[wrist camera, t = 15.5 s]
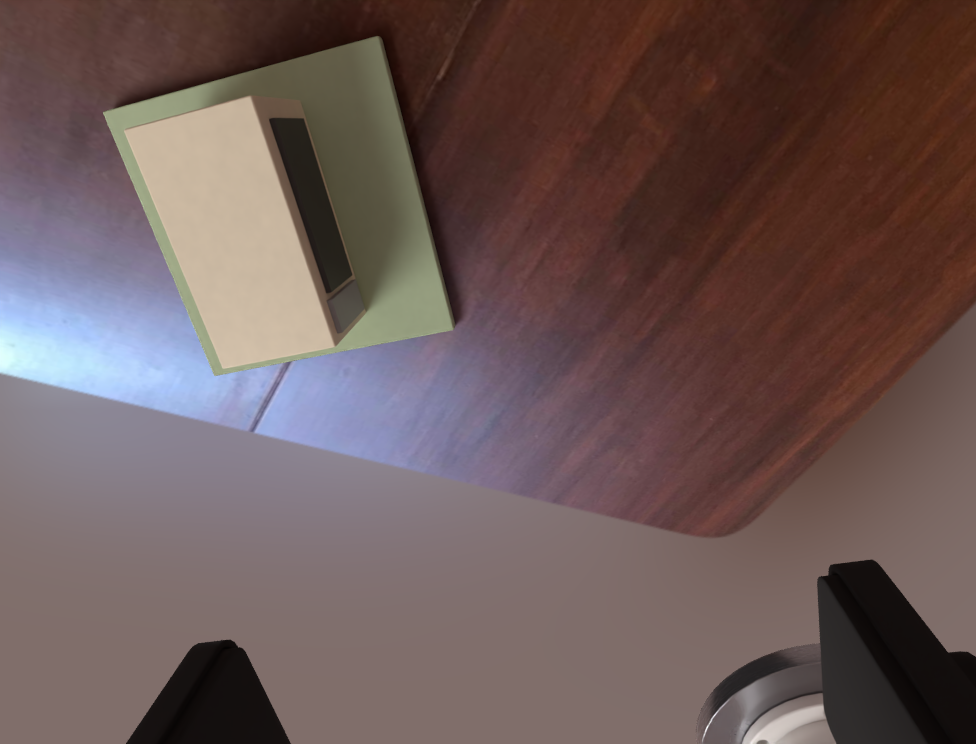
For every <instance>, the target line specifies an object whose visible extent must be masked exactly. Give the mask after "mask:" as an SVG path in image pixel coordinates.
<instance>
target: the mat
mask: <svg viewBox="0 0 976 744" xmlns="http://www.w3.org/2000/svg"><path fill="white" fill-rule="evenodd" d="M249 95H252V96H262V97H272V98H282V99H292V100H300V101H301V104H302V108H303V111H304V114H305V117H306V121H307V124H308V127H309V130H310V133H311V137H312V140H313V143H314V146H315V150H316V153H317V156H318V159H319V162H320V166H321V169H322V172H323V175H324V179H325V182H326V185H327V188H328V191H329V195H330V198H331V201H332V204H333V208H334V211H335V214H336V217H337V220H338V224H339V227H340V230H341V233H342V237H343V240H344V243H345V246H346V249H347V253H348V256H349V259H350V262H351V266H352V269H353V272H354V275H355V278H356V281H357V285H358V288H359V291H360V294H361V297H362V301H363V304H364V307H365V311H366V314H365V315H364V316H363V317H362V318H361V319H360V320H359V321H358V323H357V324H356V325H355V326H354V327H353V328H352V329H351V330H350V331H349V333H348V334H347V335H346V336H345V337H344V338H343V339H342V340H341V341H340V342H339V344H338V345H337V346H336V347H333V348H328V349H323V350H318V351H313V352H307V353H302V354H297V355H292V356H287V357H282V358H277V359H272V360H266V361H261V362H256V363H251V364H246V365H241V366H236V367H230V368H225V369H224V368H222V365H221V363H220V361H219V358H218V356H217V353H216V351H215V349H214V346H213V344H212V341H211V339H210V337H209V334H208V332H207V329H206V327H205V325H204V322H203V320H202V317H201V315H200V313H199V310H198V308H197V305H196V303H195V301H194V298H193V296H192V293H191V291H190V288H189V286H188V284H187V281H186V279H185V276H184V274H183V272H182V269H181V267H180V264H179V262H178V260H177V257H176V255H175V252H174V250H173V248H172V245H171V243H170V240H169V238H168V236H167V233H166V231H165V228H164V226H163V224H162V221H161V219H160V216H159V214H158V212H157V209H156V207H155V204H154V202H153V200H152V197H151V195H150V192H149V190H148V187H147V185H146V183H145V180H144V178H143V175H142V173H141V171H140V168H139V166H138V163H137V161H136V159H135V156H134V154H133V151H132V149H131V147H130V144H129V142H128V139H127V137H126V135H125V132H124V130H125V129H127V128H130V127H134V126H138V125H141V124H145V123H149V122H153V121H156V120H160V119H164V118H167V117H171V116H175V115H179V114H182V113H186V112H190V111H193V110H197V109H201V108H204V107H208V106H212V105H216V104H219V103H223V102H227V101H230V100H234V99H238V98H242V97H245V96H249ZM103 114H104V116H105V119H106V121H107V123H108V126H109V128H110V130H111V133H112V135H113V137H114V140H115V142H116V145H117V147H118V149H119V152H120V154H121V156H122V159H123V161H124V163H125V166H126V168H127V170H128V173H129V175H130V178H131V180H132V182H133V185H134V187H135V189H136V192H137V194H138V196H139V199H140V201H141V204H142V206H143V208H144V211H145V213H146V215H147V218H148V220H149V222H150V225H151V227H152V230H153V232H154V234H155V237H156V239H157V241H158V244H159V246H160V248H161V251H162V253H163V256H164V258H165V260H166V263H167V265H168V267H169V270H170V272H171V274H172V277H173V279H174V282H175V284H176V286H177V289H178V291H179V293H180V296H181V298H182V300H183V303H184V305H185V308H186V310H187V312H188V315H189V317H190V319H191V322H192V324H193V326H194V329H195V331H196V333H197V336H198V338H199V341H200V343H201V345H202V348H203V350H204V352H205V355H206V357H207V359H208V362H209V364H210V367H211V369H212V371H213V374H214V376H217V375H223V374H228V373H233V372H238V371H243V370H248V369H254V368H259V367H264V366H269V365H274V364H279V363H285V362H290V361H295V360H300V359H305V358H311V357H316V356H321V355H326V354H331V353H336V352H342V351H347V350H352V349H357V348H362V347H367V346H373V345H378V344H383V343H388V342H393V341H398V340H404V339H409V338H414V337H419V336H424V335H430V334H435V333H440V332H445V331H450V330H454V328H455V322H454V318H453V314H452V310H451V306H450V302H449V298H448V294H447V290H446V287H445V283H444V279H443V275H442V271H441V267H440V263H439V259H438V255H437V251H436V247H435V244H434V240H433V236H432V232H431V228H430V224H429V220H428V216H427V212H426V208H425V204H424V201H423V197H422V193H421V189H420V185H419V181H418V177H417V173H416V169H415V165H414V161H413V158H412V154H411V150H410V146H409V142H408V138H407V134H406V130H405V126H404V122H403V118H402V115H401V111H400V107H399V103H398V99H397V95H396V91H395V87H394V83H393V79H392V75H391V72H390V68H389V64H388V60H387V56H386V52H385V48H384V44H383V40H382V38H381V37H379V36H375V37H371V38H368V39H364V40H361V41H357V42H353V43H350V44H346V45H342V46H339V47H335V48H332V49H328V50H324V51H321V52H317V53H314V54H310V55H306V56H303V57H299V58H295V59H292V60H288V61H285V62H281V63H277V64H274V65H270V66H267V67H263V68H259V69H256V70H252V71H248V72H245V73H241V74H238V75H234V76H230V77H227V78H223V79H219V80H216V81H212V82H209V83H205V84H201V85H198V86H194V87H191V88H187V89H183V90H180V91H176V92H172V93H169V94H165V95H162V96H158V97H154V98H151V99H147V100H144V101H140V102H136V103H133V104H129V105H125V106H122V107H118V108H115V109H111V110H107V111H104V112H103Z"/></svg>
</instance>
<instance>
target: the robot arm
mask: <svg viewBox="0 0 976 744" xmlns="http://www.w3.org/2000/svg"><path fill="white" fill-rule="evenodd" d="M817 583H818V584H817V587H818V606H819V625H820V626H819V627H820V647H821V668H822V688H823V693H817V694H812V695H807V696H802V697H799V698H796V699H793V700H790V701H787V702H785V703H783V704H781V705H778V706H776V707H774V708H772V709H771V710H770V711H768V712H767V713H765V714H764V715H762V716H761V717H760V718H759V719H758V720H757V721H756V722H755V723H754V724H753V725H752V726H751V727H750V729H749V730H748V732H747V734H746V735H745V737H744V739H743V742H742V744H976V657H975V656H973V655H972V654H970V653H969V652H950V653H948V652H947V651H946V649H945V648H944V647H943V646H942V644H941V643H940V642H939V641H938V639H937V638H936V637H935V635H934V634H933V633H932V631H931V630H930V629H929V628H928V626H927V625H926V624H925V622H924V621H923V620H922V619H921V617H920V616H919V615H918V614H917V612H916V611H915V610H914V608H913V607H912V606H911V605H910V604H909V602H908V601H907V599H906V598H905V597H904V596H903V594H902V593H901V592H900V590H899V589H898V588H897V587H896V585H895V584H894V583H893V582H892V580H891V579H890V578H889V576H888V575H887V574H886V573H885V571H884V570H883V569H882V567H881V566H880V565H879V564H878V563H877V562H876V561H874V560H865V561H858V562H849V563H841V564H833V565H830V567H829V575H828V576H821V577H819V578H818V582H817ZM126 744H291V743H290V741H289V739H288V737H287V736H286V733H285V731H284V729H283V727H282V725H281V723H280V721H279V719H278V717H277V715H276V713H275V711H274V709H273V707H272V705H271V703H270V701H269V699H268V697H267V695H266V692H265V690H264V688H263V687H262V685H261V682H260V680H259V678H258V676H257V674H256V672H255V670H254V668H253V666H252V664H251V662H250V660H249V658H248V656H247V654H246V652H245V651H244V650H243V649H242V648H240V647H239V648H238V646H237V645H236V644H235V642H233V641H232V640H221V641H214V642H205V643H198V644H196V645H194V646H193V647H192V648H191V649H190V651H189V652H188V653H187V655H186V656H185V657H184V659H183V660H182V662H181V663H180V665H179V666H178V668H177V669H176V671H175V672H174V674H173V675H172V677H171V678H170V680H169V681H168V683H167V684H166V686H165V687H164V689H163V690H162V691H161V693H160V694H159V696H158V697H157V699H156V700H155V702H154V703H153V705H152V706H151V708H150V709H149V711H148V712H147V713H146V715H145V716H144V718H143V720H142V721H141V723H140V724H139V725H138V727H137V728H136V730H135V731H134V733H133V734H132V736H131V737H130V739H129V740H128V742H127V743H126Z"/></svg>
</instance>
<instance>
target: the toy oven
mask: <svg viewBox="0 0 976 744" xmlns="http://www.w3.org/2000/svg"><path fill="white" fill-rule="evenodd" d="M124 132H125V135H126V137H127V139H128V142H129V144H130V147H131V149H132V151H133V154H134V156H135V159H136V161H137V163H138V166H139V168H140V171H141V173H142V175H143V178H144V180H145V183H146V185H147V187H148V190H149V192H150V195H151V197H152V200H153V202H154V204H155V207H156V209H157V212H158V214H159V216H160V219H161V221H162V224H163V226H164V228H165V231H166V233H167V236H168V238H169V240H170V243H171V245H172V248H173V250H174V252H175V255H176V257H177V260H178V262H179V264H180V267H181V269H182V272H183V274H184V276H185V279H186V281H187V284H188V286H189V288H190V291H191V293H192V296H193V298H194V301H195V303H196V305H197V308H198V310H199V313H200V315H201V317H202V320H203V322H204V325H205V327H206V329H207V332H208V334H209V337H210V339H211V341H212V344H213V346H214V349H215V351H216V353H217V356H218V358H219V361H220V363H221V365H222V368H224V369H225V368H230V367H236V366H241V365H246V364H251V363H256V362H261V361H266V360H272V359H277V358H282V357H287V356H292V355H297V354H302V353H307V352H313V351H318V350H323V349H328V348H333V347H336V346H337V345H338V344H339V342H340V341H341V340H342V339H343V338H344V337H345V336H346V335H347V334H348V333H349V331H350V330H351V329H352V328H353V327H354V326H355V325H356V324H357V323H358V321H359V320H360V319H361V318H362V317H363V316H364V315H365V314H366V311H365V307H364V304H363V301H362V297H361V294H360V291H359V288H358V285H357V281H356V278H355V275H354V272H353V269H352V266H351V262H350V259H349V256H348V253H347V249H346V246H345V243H344V240H343V237H342V233H341V230H340V227H339V224H338V220H337V217H336V214H335V211H334V208H333V204H332V201H331V198H330V195H329V191H328V188H327V185H326V182H325V179H324V175H323V172H322V169H321V166H320V162H319V159H318V156H317V153H316V150H315V146H314V143H313V140H312V137H311V133H310V130H309V127H308V124H307V121H306V117H305V114H304V111H303V108H302V104H301V101H300V100H292V99H282V98H272V97H262V96H252V95H249V96H245V97H242V98H238V99H234V100H230V101H227V102H223V103H219V104H216V105H212V106H208V107H204V108H201V109H197V110H193V111H190V112H186V113H182V114H179V115H175V116H171V117H167V118H164V119H160V120H156V121H153V122H149V123H145V124H141V125H138V126H134V127H130V128H127V129H125V130H124Z"/></svg>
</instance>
